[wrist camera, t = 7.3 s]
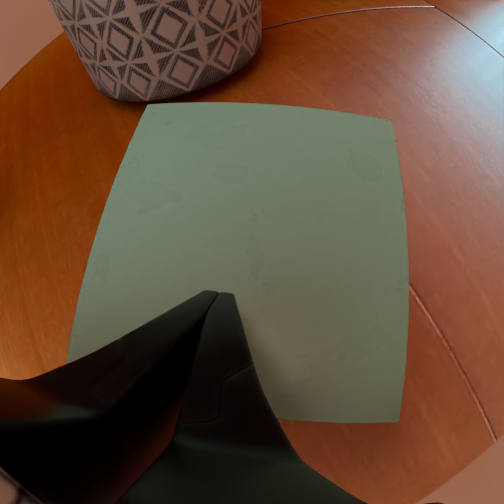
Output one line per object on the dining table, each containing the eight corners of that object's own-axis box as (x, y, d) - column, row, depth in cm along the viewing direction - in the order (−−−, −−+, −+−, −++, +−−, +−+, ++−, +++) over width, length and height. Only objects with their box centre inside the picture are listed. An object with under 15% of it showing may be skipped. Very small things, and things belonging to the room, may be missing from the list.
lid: (151, 113, 16) (147, 104, 16) (388, 130, 15) (392, 120, 14) (75, 368, 11) (65, 368, 11) (391, 419, 10) (399, 422, 9)
